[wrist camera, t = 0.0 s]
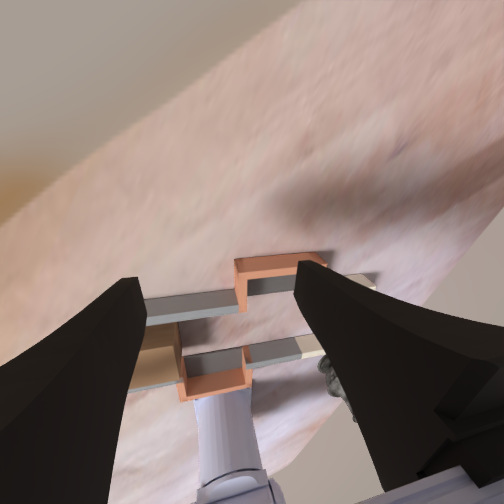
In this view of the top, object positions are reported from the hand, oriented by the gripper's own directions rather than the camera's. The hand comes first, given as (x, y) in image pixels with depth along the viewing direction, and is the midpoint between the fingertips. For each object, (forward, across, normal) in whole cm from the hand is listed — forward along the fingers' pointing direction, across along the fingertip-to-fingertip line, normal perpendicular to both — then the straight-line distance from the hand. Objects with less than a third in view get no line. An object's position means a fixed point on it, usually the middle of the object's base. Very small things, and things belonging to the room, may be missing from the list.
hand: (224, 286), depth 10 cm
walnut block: (+10, +7, +13) cm, 18 cm away
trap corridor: (+10, -4, +13) cm, 17 cm away
